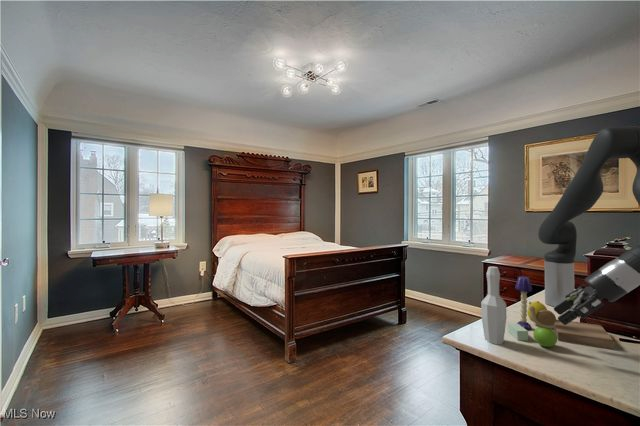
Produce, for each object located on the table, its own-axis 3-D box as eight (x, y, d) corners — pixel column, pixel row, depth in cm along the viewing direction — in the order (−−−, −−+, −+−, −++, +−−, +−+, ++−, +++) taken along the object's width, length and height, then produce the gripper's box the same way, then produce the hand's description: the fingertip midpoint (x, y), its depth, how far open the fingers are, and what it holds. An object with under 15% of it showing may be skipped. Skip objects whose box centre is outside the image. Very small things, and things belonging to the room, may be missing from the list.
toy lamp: (536, 329, 97) (535, 278, 97) (525, 331, 95) (525, 279, 95) (522, 324, 101) (521, 274, 101) (511, 326, 100) (511, 276, 100)
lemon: (539, 329, 97) (539, 304, 97) (523, 323, 102) (523, 299, 102) (552, 327, 99) (552, 302, 98) (536, 321, 104) (535, 297, 104)
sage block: (507, 332, 96) (507, 323, 96) (517, 332, 95) (517, 323, 95) (517, 340, 90) (517, 330, 90) (528, 341, 90) (528, 331, 89)
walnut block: (552, 327, 99) (551, 318, 99) (600, 334, 93) (600, 325, 93) (558, 342, 89) (558, 332, 89) (613, 351, 83) (613, 340, 83)
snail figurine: (530, 339, 90) (529, 299, 90) (557, 345, 86) (557, 303, 86) (528, 346, 86) (527, 304, 86) (557, 352, 82) (556, 308, 82)
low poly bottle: (490, 334, 94) (489, 264, 94) (511, 342, 89) (510, 267, 88) (477, 339, 91) (476, 266, 91) (498, 347, 86) (497, 270, 85)
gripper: (593, 264, 85) (543, 299, 91) (608, 274, 73) (549, 313, 79) (619, 284, 83) (566, 319, 89) (639, 298, 70) (576, 337, 77)
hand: (558, 316), depth 84 cm, fingers open, 8 cm apart
